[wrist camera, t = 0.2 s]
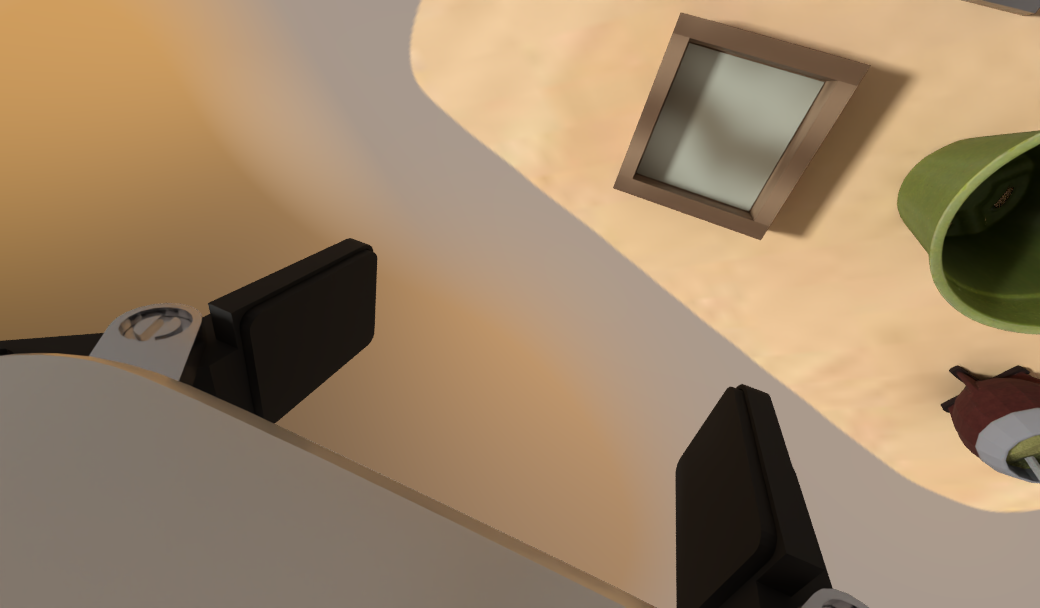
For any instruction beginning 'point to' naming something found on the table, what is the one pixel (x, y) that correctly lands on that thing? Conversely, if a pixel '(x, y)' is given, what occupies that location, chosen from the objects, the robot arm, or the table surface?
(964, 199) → the plant pot
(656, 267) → the table surface
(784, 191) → the square wooden tray
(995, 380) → the mate gourd
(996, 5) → the grey block
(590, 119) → the table surface
